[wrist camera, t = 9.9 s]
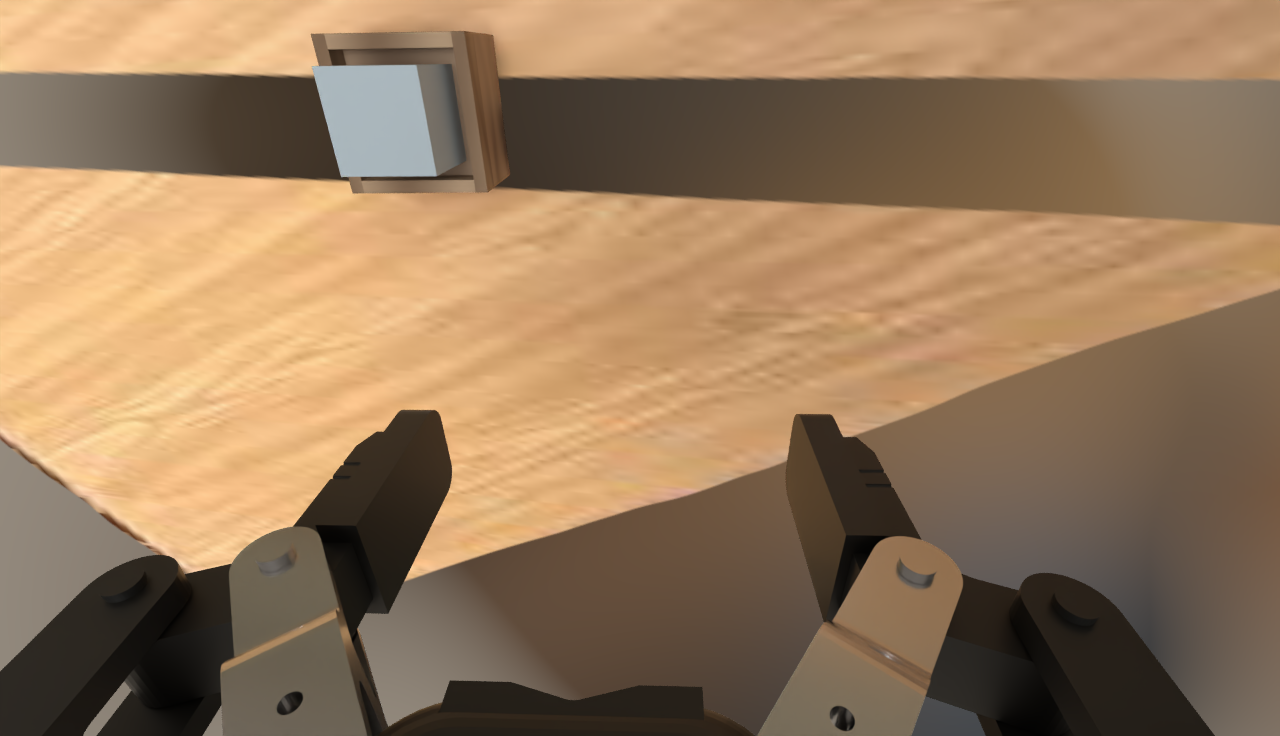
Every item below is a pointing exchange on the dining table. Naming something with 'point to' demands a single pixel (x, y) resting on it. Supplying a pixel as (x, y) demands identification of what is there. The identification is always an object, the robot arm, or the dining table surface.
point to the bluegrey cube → (392, 118)
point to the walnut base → (473, 94)
